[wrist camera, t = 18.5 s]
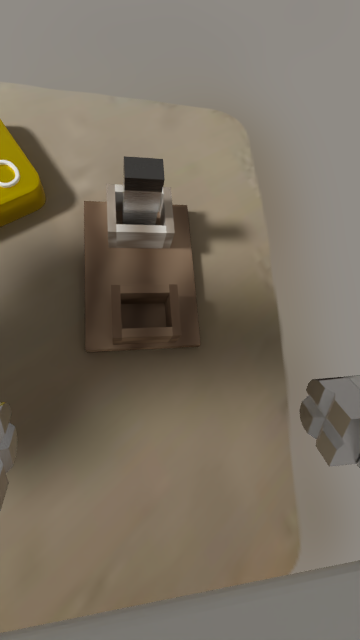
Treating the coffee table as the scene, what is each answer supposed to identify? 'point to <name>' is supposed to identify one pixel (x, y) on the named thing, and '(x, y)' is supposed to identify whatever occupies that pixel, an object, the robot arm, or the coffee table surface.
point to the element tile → (17, 181)
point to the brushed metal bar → (142, 190)
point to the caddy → (138, 278)
